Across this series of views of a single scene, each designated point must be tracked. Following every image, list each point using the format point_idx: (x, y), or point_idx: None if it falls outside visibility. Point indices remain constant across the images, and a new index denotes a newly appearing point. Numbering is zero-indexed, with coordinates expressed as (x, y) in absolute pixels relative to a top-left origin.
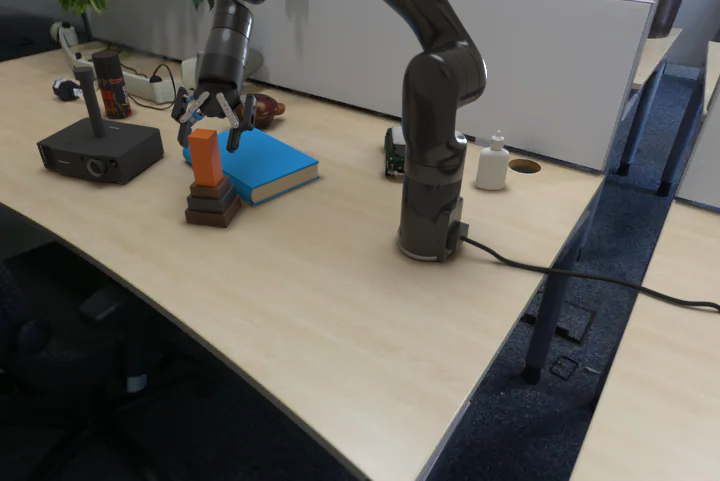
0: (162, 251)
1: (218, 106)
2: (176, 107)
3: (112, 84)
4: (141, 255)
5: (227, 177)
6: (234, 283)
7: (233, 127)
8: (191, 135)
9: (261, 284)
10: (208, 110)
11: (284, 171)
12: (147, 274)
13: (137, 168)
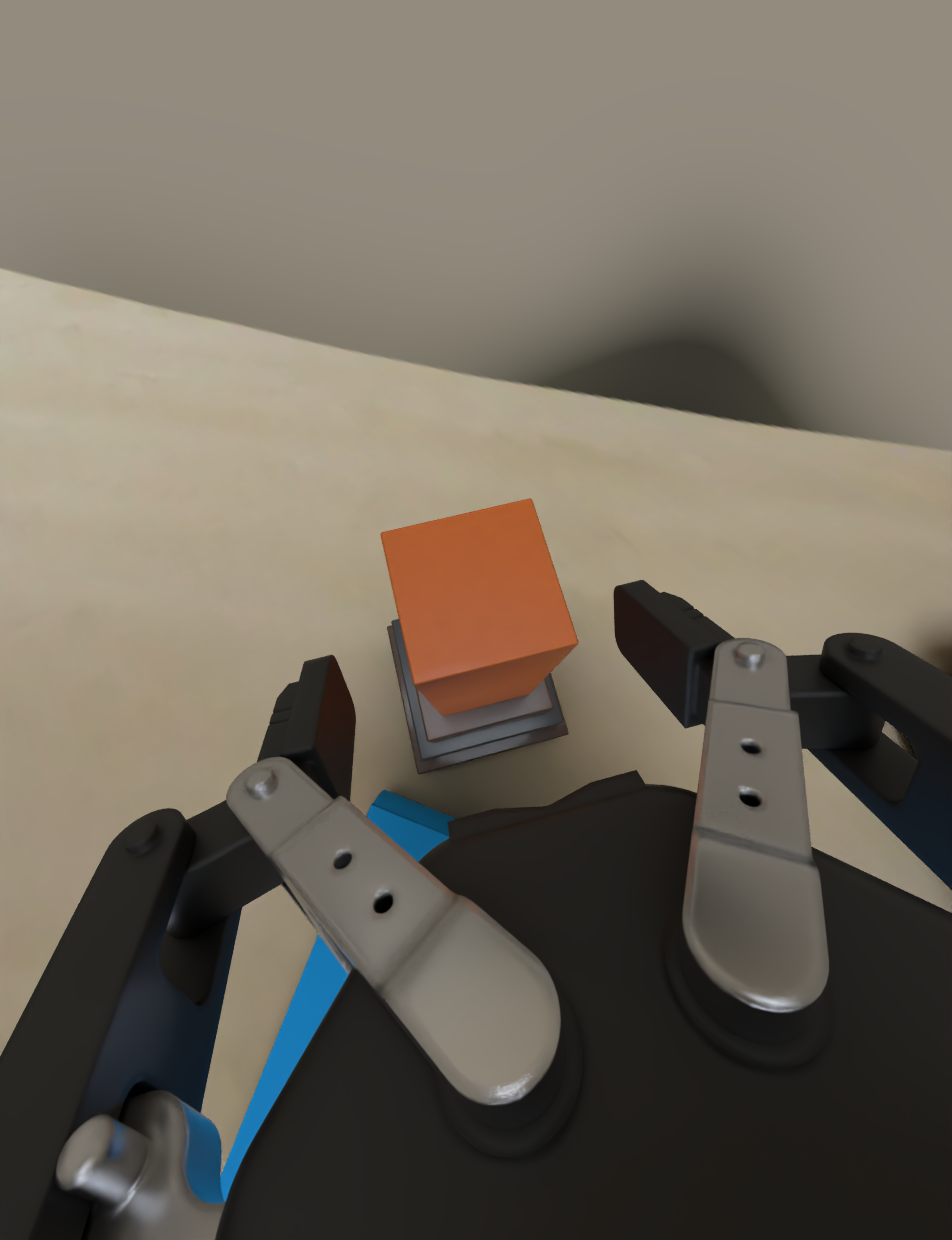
0: (483, 476)
1: (497, 895)
2: (937, 698)
3: None
4: (518, 443)
5: (424, 724)
6: (239, 455)
7: (279, 760)
8: (520, 524)
9: (174, 478)
10: (590, 806)
11: (306, 1032)
12: (450, 400)
13: None
